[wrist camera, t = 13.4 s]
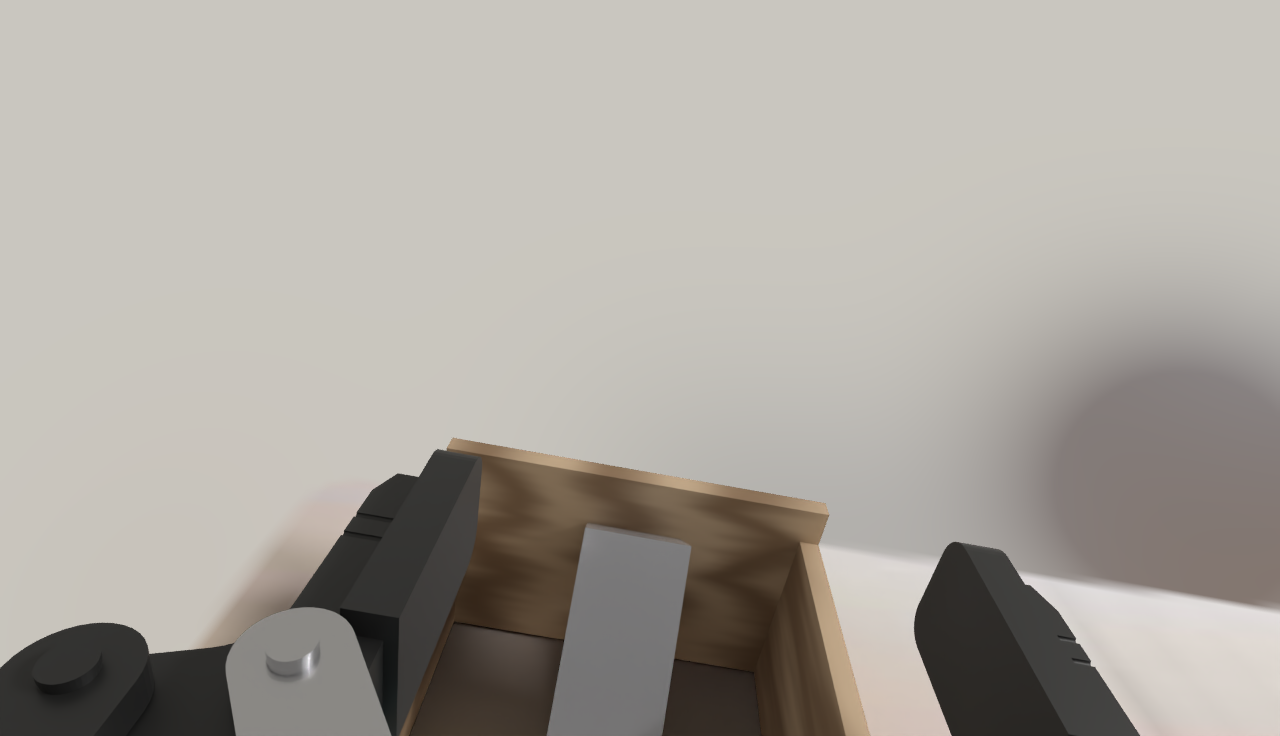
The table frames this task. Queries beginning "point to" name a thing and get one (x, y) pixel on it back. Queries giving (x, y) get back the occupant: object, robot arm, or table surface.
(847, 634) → the table surface
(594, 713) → the granite stone
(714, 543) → the trapdoor frame
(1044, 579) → the table surface
